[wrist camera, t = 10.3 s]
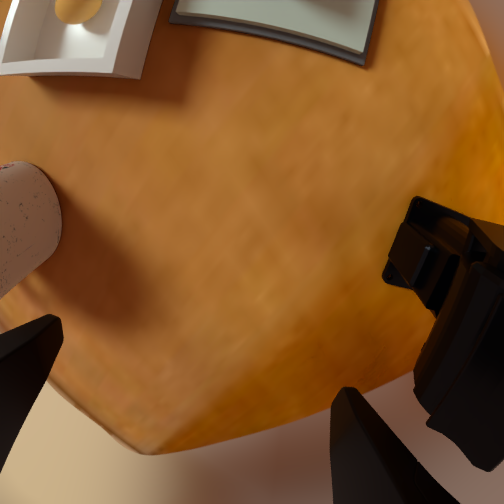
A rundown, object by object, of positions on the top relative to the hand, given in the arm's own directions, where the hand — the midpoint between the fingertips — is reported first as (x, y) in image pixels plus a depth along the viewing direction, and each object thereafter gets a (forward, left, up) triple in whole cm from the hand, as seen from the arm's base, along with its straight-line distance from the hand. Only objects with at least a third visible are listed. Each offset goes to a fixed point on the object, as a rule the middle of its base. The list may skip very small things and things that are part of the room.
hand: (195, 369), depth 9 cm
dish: (+13, -13, -13) cm, 22 cm away
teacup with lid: (+18, +4, -13) cm, 23 cm away
